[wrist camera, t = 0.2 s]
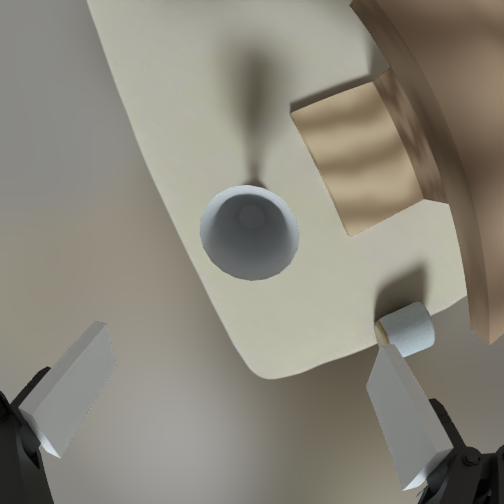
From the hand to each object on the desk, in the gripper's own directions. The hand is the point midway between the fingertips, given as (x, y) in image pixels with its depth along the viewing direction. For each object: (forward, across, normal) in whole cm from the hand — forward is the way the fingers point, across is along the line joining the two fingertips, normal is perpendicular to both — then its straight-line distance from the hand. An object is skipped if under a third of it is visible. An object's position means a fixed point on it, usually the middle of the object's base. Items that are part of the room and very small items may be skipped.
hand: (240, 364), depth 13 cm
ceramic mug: (+28, +24, -14) cm, 39 cm away
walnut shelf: (+28, +14, +12) cm, 34 cm away
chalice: (+28, -1, +3) cm, 28 cm away
